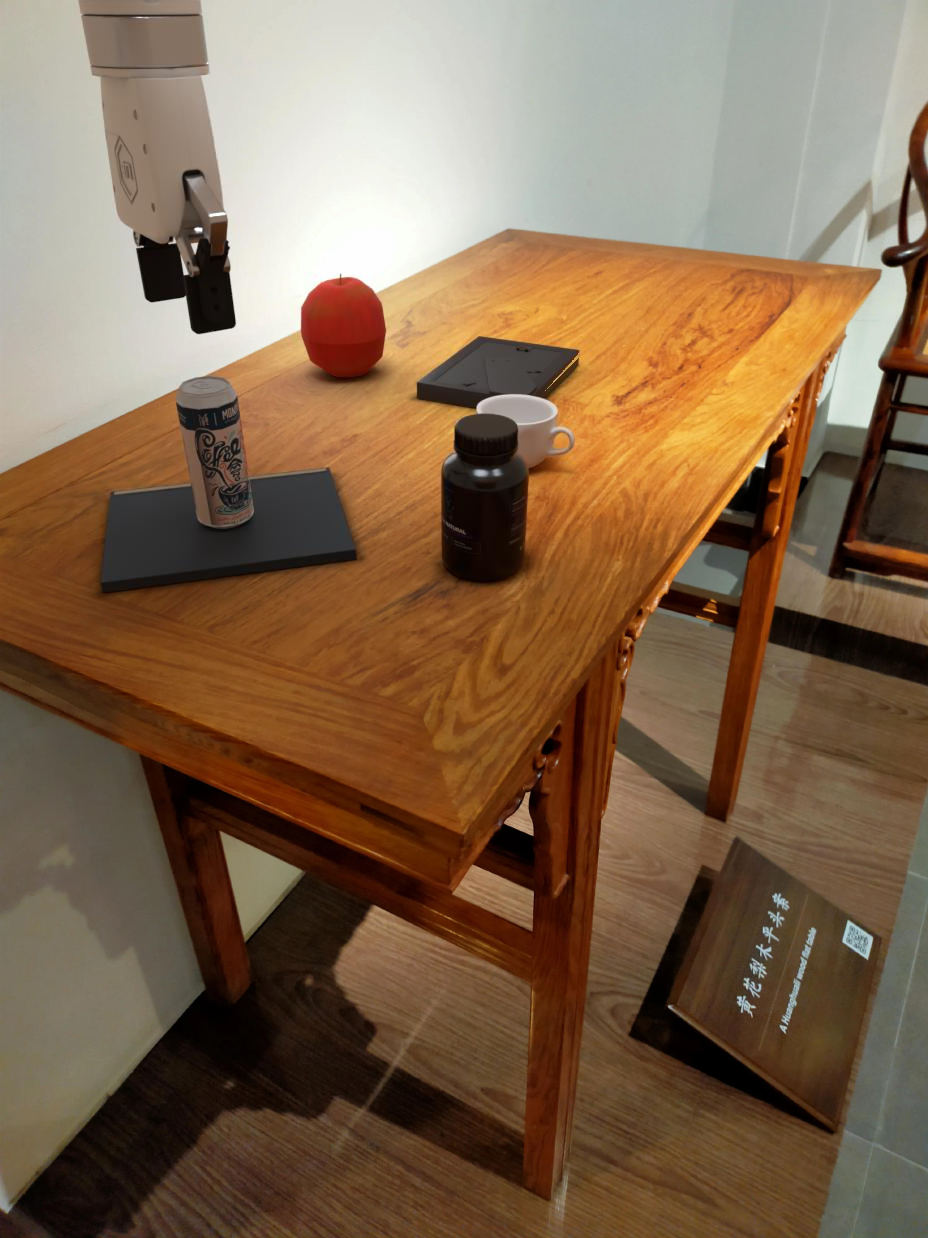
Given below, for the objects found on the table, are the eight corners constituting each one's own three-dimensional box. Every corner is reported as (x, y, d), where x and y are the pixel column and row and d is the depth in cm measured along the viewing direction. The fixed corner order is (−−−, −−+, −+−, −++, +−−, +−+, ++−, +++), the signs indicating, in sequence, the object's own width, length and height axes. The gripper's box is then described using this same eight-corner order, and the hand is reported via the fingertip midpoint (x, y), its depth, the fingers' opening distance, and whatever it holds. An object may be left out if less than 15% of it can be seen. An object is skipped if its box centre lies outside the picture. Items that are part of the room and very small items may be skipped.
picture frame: (526, 417, 102) (578, 364, 115) (527, 397, 100) (579, 346, 114) (416, 398, 106) (478, 350, 120) (416, 379, 105) (478, 332, 118)
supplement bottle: (430, 576, 75) (426, 436, 68) (456, 535, 80) (455, 402, 74) (513, 590, 73) (518, 448, 67) (534, 547, 79) (540, 412, 72)
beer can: (223, 538, 78) (200, 400, 71) (186, 521, 81) (160, 386, 74) (266, 516, 81) (247, 382, 75) (229, 500, 84) (208, 369, 77)
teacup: (461, 466, 92) (461, 414, 89) (498, 438, 97) (499, 388, 94) (555, 489, 88) (558, 435, 84) (587, 458, 93) (591, 407, 90)
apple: (342, 351, 119) (335, 257, 113) (406, 367, 115) (402, 269, 108) (287, 375, 112) (276, 275, 106) (352, 392, 108) (345, 289, 101)
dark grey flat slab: (102, 593, 73) (99, 581, 73) (112, 500, 86) (109, 490, 85) (356, 559, 77) (355, 548, 77) (330, 476, 90) (329, 465, 89)
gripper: (53, 44, 65) (104, 295, 75) (134, 57, 53) (182, 353, 63) (158, 41, 69) (194, 282, 78) (256, 53, 57) (284, 334, 67)
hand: (189, 313), depth 71 cm, fingers open, 9 cm apart
